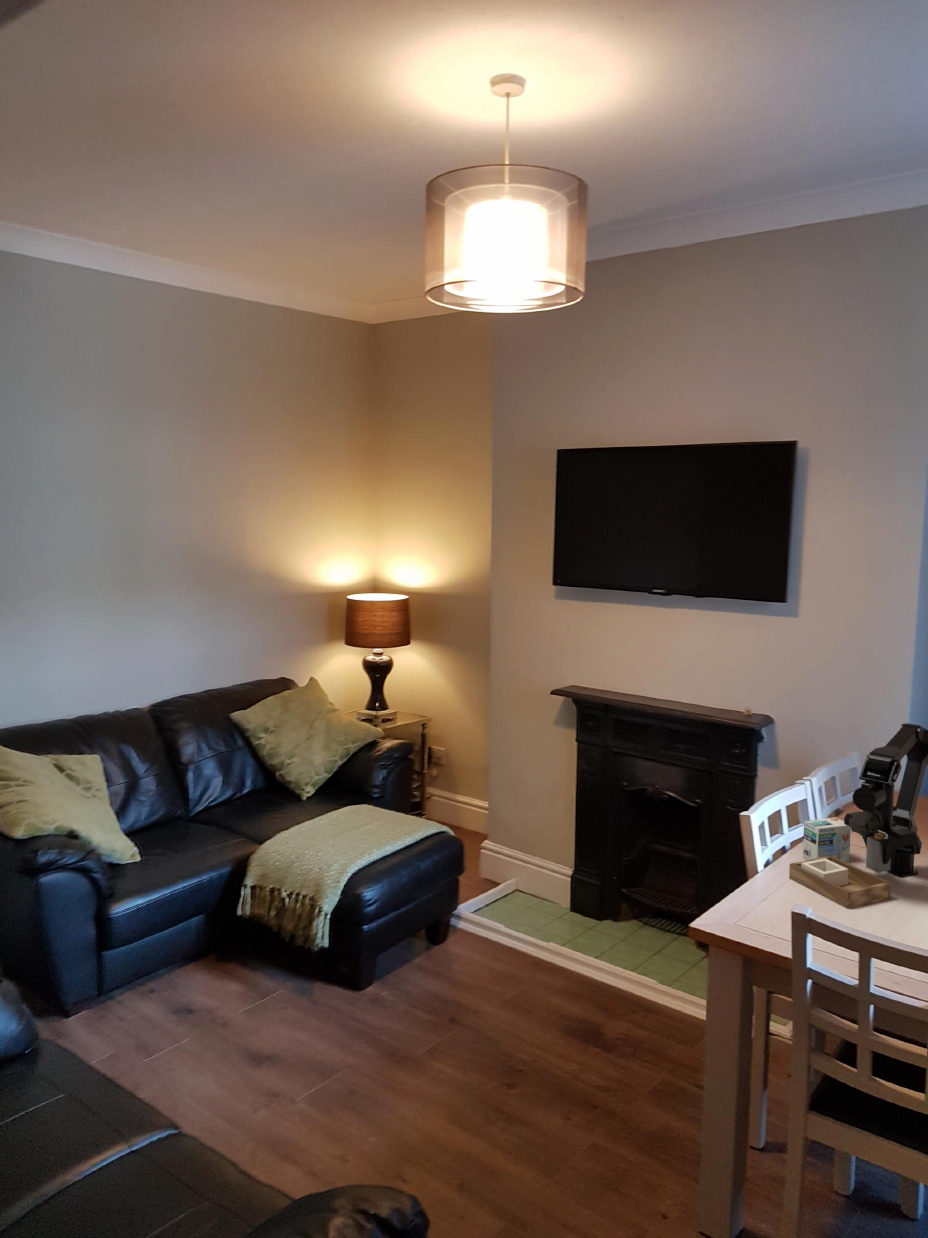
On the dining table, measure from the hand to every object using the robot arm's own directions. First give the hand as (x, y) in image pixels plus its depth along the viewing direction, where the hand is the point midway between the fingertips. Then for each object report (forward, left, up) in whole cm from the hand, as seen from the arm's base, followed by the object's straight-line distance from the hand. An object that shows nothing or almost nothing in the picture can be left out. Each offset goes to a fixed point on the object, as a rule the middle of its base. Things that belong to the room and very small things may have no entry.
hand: (878, 861), depth 233 cm
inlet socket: (+11, -7, -7) cm, 15 cm away
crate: (+10, -3, -7) cm, 12 cm away
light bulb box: (-1, -19, -7) cm, 20 cm away
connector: (0, 0, -2) cm, 2 cm away
